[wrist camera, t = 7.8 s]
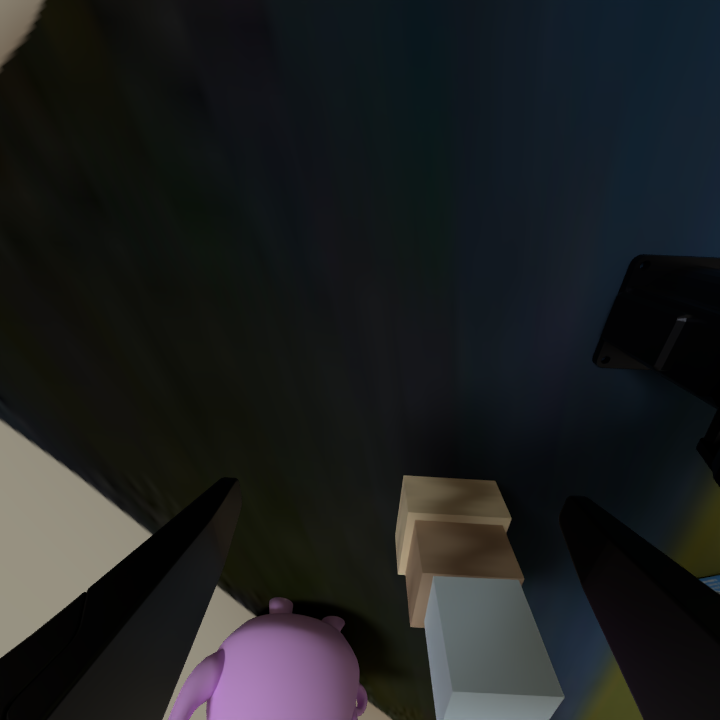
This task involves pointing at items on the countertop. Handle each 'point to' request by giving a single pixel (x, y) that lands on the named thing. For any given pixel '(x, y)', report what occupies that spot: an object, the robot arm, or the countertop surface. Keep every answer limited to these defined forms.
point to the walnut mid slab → (455, 558)
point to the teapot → (277, 672)
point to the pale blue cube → (487, 652)
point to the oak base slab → (446, 507)
